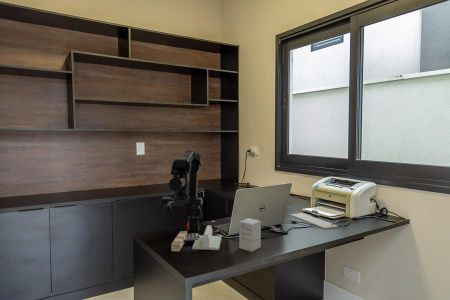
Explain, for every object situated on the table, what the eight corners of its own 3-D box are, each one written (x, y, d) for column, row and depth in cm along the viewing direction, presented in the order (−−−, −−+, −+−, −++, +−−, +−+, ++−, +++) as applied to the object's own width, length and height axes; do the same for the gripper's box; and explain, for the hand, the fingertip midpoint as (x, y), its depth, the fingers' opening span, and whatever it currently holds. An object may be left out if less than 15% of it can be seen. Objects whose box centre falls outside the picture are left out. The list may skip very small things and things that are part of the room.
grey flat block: (305, 214, 207) (290, 216, 201) (305, 210, 206) (290, 212, 201) (341, 227, 179) (325, 230, 174) (341, 222, 178) (325, 225, 173)
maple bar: (180, 238, 157) (180, 231, 157) (187, 238, 157) (187, 231, 157) (171, 251, 139) (171, 244, 139) (179, 252, 139) (179, 244, 139)
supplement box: (247, 243, 150) (248, 217, 149) (261, 247, 145) (261, 220, 144) (238, 248, 144) (239, 221, 143) (251, 252, 139) (252, 224, 138)
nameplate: (293, 231, 166) (278, 233, 161) (293, 233, 166) (278, 236, 161) (262, 218, 190) (249, 220, 185) (262, 220, 190) (249, 223, 185)
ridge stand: (197, 237, 158) (197, 224, 157) (221, 238, 157) (221, 225, 157) (192, 249, 142) (192, 234, 142) (218, 249, 141) (219, 235, 141)
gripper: (157, 189, 136) (157, 224, 138) (199, 190, 136) (199, 225, 137) (163, 184, 147) (163, 217, 149) (202, 185, 147) (202, 217, 148)
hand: (181, 219), depth 145 cm, fingers open, 9 cm apart
